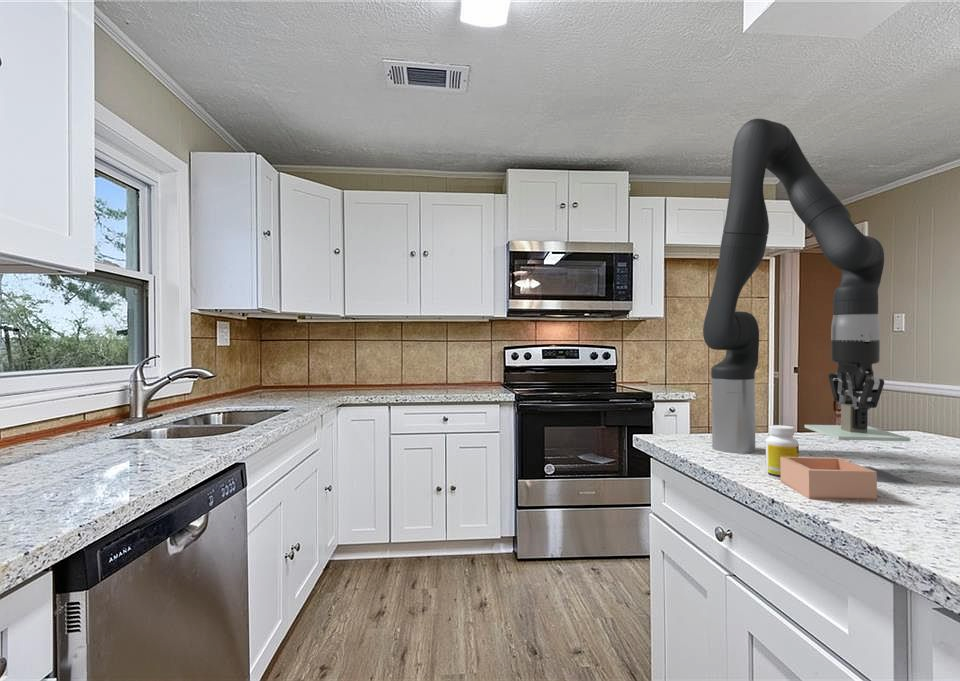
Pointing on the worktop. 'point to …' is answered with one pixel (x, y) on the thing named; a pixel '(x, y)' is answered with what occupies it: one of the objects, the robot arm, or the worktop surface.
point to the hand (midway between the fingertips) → (854, 426)
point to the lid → (849, 433)
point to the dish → (829, 478)
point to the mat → (887, 476)
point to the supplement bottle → (779, 448)
